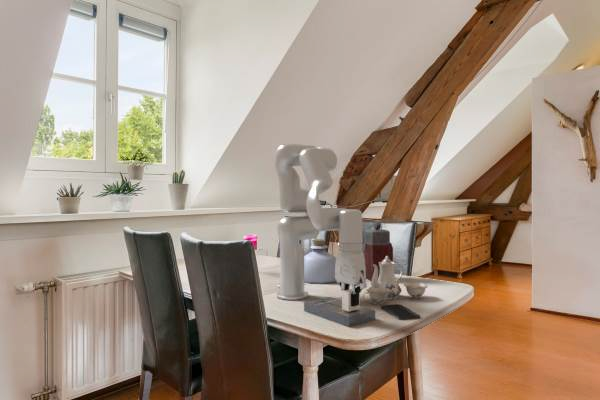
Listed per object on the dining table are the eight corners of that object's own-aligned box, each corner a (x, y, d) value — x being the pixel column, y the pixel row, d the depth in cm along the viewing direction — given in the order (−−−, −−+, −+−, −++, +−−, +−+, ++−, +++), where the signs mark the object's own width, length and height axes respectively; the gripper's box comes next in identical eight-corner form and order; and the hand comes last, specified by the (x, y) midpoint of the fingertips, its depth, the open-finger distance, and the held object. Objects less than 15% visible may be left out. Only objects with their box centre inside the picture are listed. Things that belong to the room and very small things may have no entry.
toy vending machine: (394, 280, 192) (394, 220, 191) (372, 282, 189) (372, 221, 189) (386, 276, 200) (386, 219, 200) (364, 278, 198) (364, 219, 197)
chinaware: (377, 313, 146) (380, 267, 144) (348, 298, 160) (351, 256, 158) (432, 302, 160) (436, 260, 158) (402, 289, 174) (404, 250, 172)
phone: (399, 304, 149) (421, 316, 134) (399, 307, 149) (421, 319, 134) (379, 305, 147) (399, 318, 132) (379, 308, 147) (399, 321, 132)
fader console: (304, 311, 143) (304, 302, 143) (330, 305, 150) (329, 296, 150) (348, 327, 126) (348, 317, 126) (375, 319, 133) (375, 310, 133)
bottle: (341, 276, 204) (341, 237, 203) (338, 284, 184) (338, 242, 184) (302, 274, 207) (301, 237, 207) (294, 283, 188) (294, 242, 187)
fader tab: (342, 309, 133) (341, 290, 133) (353, 306, 136) (353, 288, 136) (348, 311, 131) (348, 292, 131) (359, 308, 134) (359, 290, 134)
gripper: (325, 246, 137) (325, 301, 138) (360, 251, 124) (361, 312, 125) (341, 244, 142) (341, 297, 142) (377, 249, 129) (377, 307, 129)
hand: (350, 303), depth 133 cm, fingers closed on fader tab, 3 cm apart
